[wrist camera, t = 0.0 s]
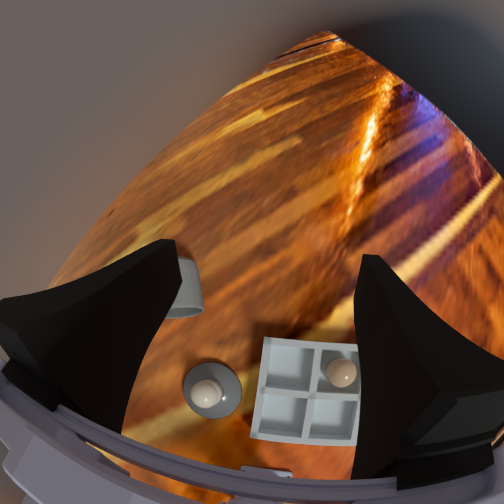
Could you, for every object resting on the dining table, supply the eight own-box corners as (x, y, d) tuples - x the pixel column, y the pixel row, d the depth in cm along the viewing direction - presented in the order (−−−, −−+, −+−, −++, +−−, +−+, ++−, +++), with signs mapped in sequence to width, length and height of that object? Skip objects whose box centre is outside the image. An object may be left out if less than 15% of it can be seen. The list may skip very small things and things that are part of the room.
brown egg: (350, 384, 36) (357, 390, 31) (323, 383, 36) (326, 388, 32) (353, 357, 37) (361, 359, 32) (326, 356, 38) (330, 358, 33)
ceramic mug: (203, 263, 46) (185, 248, 39) (211, 312, 43) (193, 306, 36) (147, 277, 47) (123, 265, 40) (152, 324, 44) (127, 319, 37)
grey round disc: (238, 422, 37) (236, 424, 36) (182, 410, 39) (180, 411, 38) (245, 367, 40) (244, 368, 39) (189, 357, 41) (187, 357, 41)
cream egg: (222, 406, 37) (212, 413, 33) (197, 400, 38) (184, 407, 33) (225, 381, 39) (216, 386, 34) (200, 376, 39) (187, 380, 34)
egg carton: (393, 437, 32) (400, 443, 29) (253, 430, 36) (249, 437, 33) (408, 345, 37) (417, 345, 33) (267, 337, 41) (264, 336, 38)
